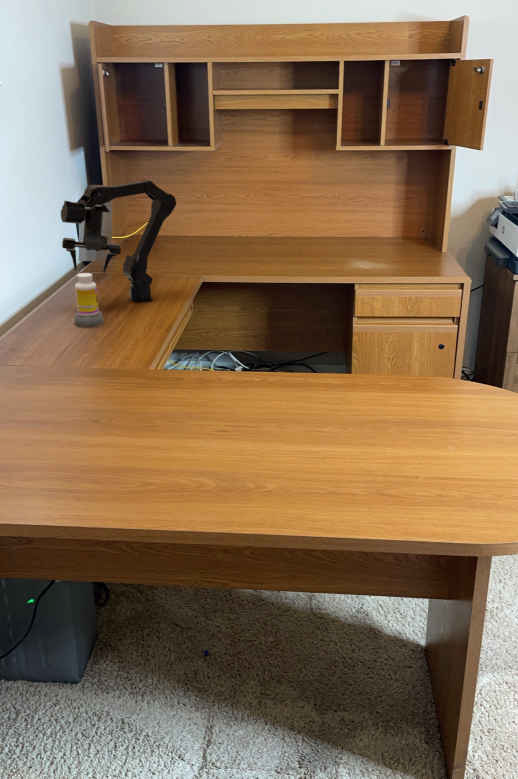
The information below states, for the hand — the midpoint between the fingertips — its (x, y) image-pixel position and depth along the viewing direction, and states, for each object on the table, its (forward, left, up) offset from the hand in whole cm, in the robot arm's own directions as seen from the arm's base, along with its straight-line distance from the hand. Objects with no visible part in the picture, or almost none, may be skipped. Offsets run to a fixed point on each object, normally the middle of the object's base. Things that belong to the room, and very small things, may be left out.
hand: (89, 271), depth 239 cm
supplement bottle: (+5, +16, -10) cm, 20 cm away
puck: (+5, +16, -13) cm, 21 cm away
